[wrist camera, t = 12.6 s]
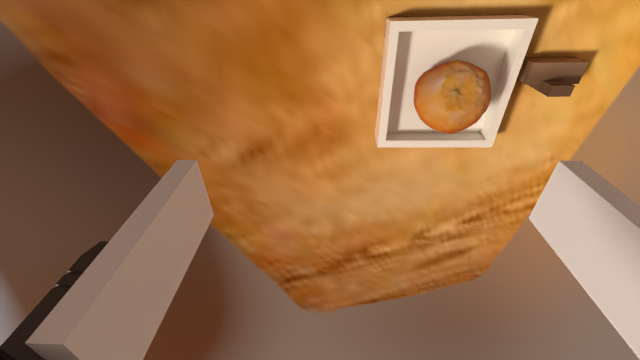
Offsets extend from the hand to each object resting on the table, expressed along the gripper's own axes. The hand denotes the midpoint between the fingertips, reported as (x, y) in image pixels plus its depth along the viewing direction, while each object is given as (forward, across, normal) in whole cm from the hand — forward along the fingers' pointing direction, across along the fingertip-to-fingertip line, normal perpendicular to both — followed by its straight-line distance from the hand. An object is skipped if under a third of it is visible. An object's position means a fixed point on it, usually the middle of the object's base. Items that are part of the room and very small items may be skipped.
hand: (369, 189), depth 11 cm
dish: (+29, +12, -5) cm, 32 cm away
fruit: (+28, +12, -5) cm, 31 cm away
